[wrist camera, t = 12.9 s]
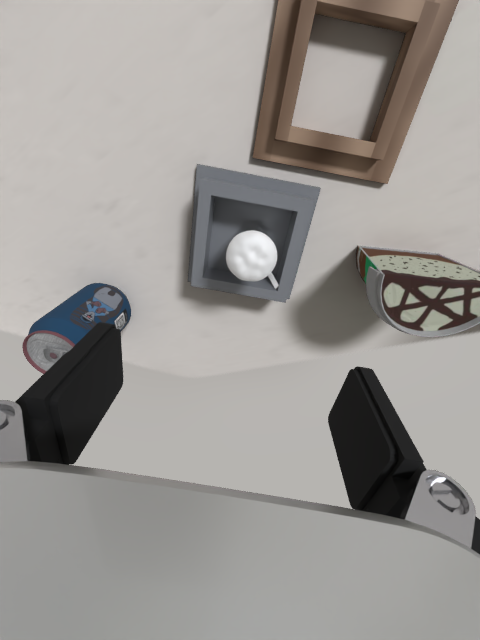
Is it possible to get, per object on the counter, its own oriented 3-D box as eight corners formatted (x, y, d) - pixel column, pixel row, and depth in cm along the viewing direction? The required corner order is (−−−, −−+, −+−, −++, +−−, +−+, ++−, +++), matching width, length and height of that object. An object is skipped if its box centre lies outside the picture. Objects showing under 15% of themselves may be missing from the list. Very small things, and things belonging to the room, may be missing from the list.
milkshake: (258, 268, 33) (258, 305, 25) (225, 237, 32) (212, 265, 23) (286, 240, 32) (297, 269, 23) (252, 206, 30) (249, 223, 21)
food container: (331, 292, 35) (356, 335, 26) (344, 244, 32) (377, 274, 23) (428, 302, 35) (485, 348, 26) (451, 254, 32) (523, 288, 23)
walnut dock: (460, -11, 22) (477, -27, 20) (384, 183, 29) (393, 184, 27) (286, -50, 21) (289, -68, 20) (252, 157, 28) (252, 157, 27)
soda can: (87, 321, 39) (24, 377, 29) (80, 275, 36) (7, 320, 25) (135, 328, 39) (91, 388, 29) (133, 284, 36) (82, 333, 26)
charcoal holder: (319, 187, 29) (328, 190, 26) (288, 297, 36) (292, 312, 32) (198, 164, 29) (189, 164, 25) (188, 279, 35) (181, 292, 32)
